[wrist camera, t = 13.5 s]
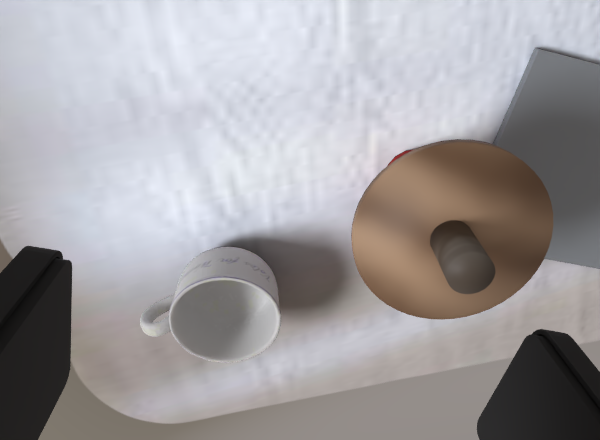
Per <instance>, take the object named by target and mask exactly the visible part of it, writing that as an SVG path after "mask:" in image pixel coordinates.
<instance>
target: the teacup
mask: <svg viewBox="0 0 600 440" xmlns="http://www.w3.org/2000/svg"><path fill="white" fill-rule="evenodd" d="M169 310H170V311H169ZM167 311H169V315H168V316H167V317H166V318H165V319H163V320H162V321H159V322H155V323H152V322H153V321H154V320H155V319H156V318H157V317H158V316H160V315H161V314H163V313H165V312H167ZM140 324H141V327H142V329H143V331H144V332H145V334H147V335H149V336H161V335H164V334H166V333H168V332H170V331H171V332H172V334H173V336H174V338H175V339H176V341H177V342H178V343H179V344H180V345H181V346H182V347H183V348H184V349H185V350H186V351H188V352H189V353H191V354H193V355H195V356H197V357H199V358H202V359H205V360H209V361H213V362H224V363H230V362H238V361H243V360H247V359H250V358H252V357H254V356H257V355H258V354H260V353H262V352H263V351H265V350H266V349H267V348H268V347H269V346H270V345H271V344H272V343H273V342H274V341H275V339H276V337H277V335H278V333H279V330H280V326H281V313H280V309H279V296H278V287H277V283H276V279H275V276H274V274H273V272H272V270H271V269H270V267H269V266H268V264H267V263H266V262H265V261H264V260H263V259H262V258H260V257H259V256H258V255H256V254H254V253H252V252H250V251H248V250H245V249H241V248H236V247H219V248H214V249H211V250H208V251H205V252H203V253H201V254H200V255H198V256H197V257H195V258H194V259H193V260H192V261H191V262H190V263H189V264H188V265H187V266H186V268H185V269H184V271H183V273H182V275H181V277H180V279H179V282H178V285H177V289H176V292H175V293H174V294H173V295H171V296H169V297H167V298H164V299H162V300H160V301H158V302H156V303H154V304H153V305H151V306H150V307H149V308H147V309H146V310H145V311H144V312H143V314H142V316H141V319H140Z"/></svg>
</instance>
